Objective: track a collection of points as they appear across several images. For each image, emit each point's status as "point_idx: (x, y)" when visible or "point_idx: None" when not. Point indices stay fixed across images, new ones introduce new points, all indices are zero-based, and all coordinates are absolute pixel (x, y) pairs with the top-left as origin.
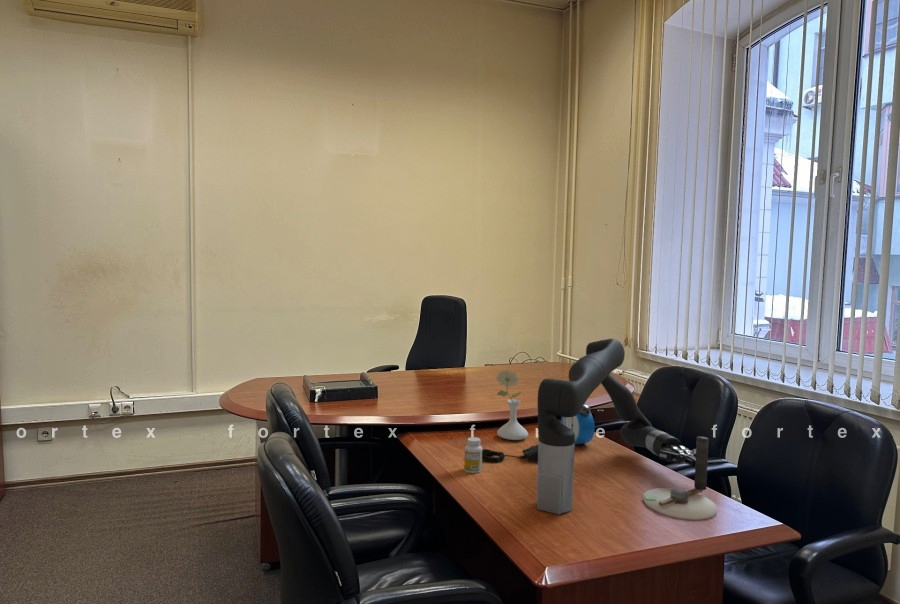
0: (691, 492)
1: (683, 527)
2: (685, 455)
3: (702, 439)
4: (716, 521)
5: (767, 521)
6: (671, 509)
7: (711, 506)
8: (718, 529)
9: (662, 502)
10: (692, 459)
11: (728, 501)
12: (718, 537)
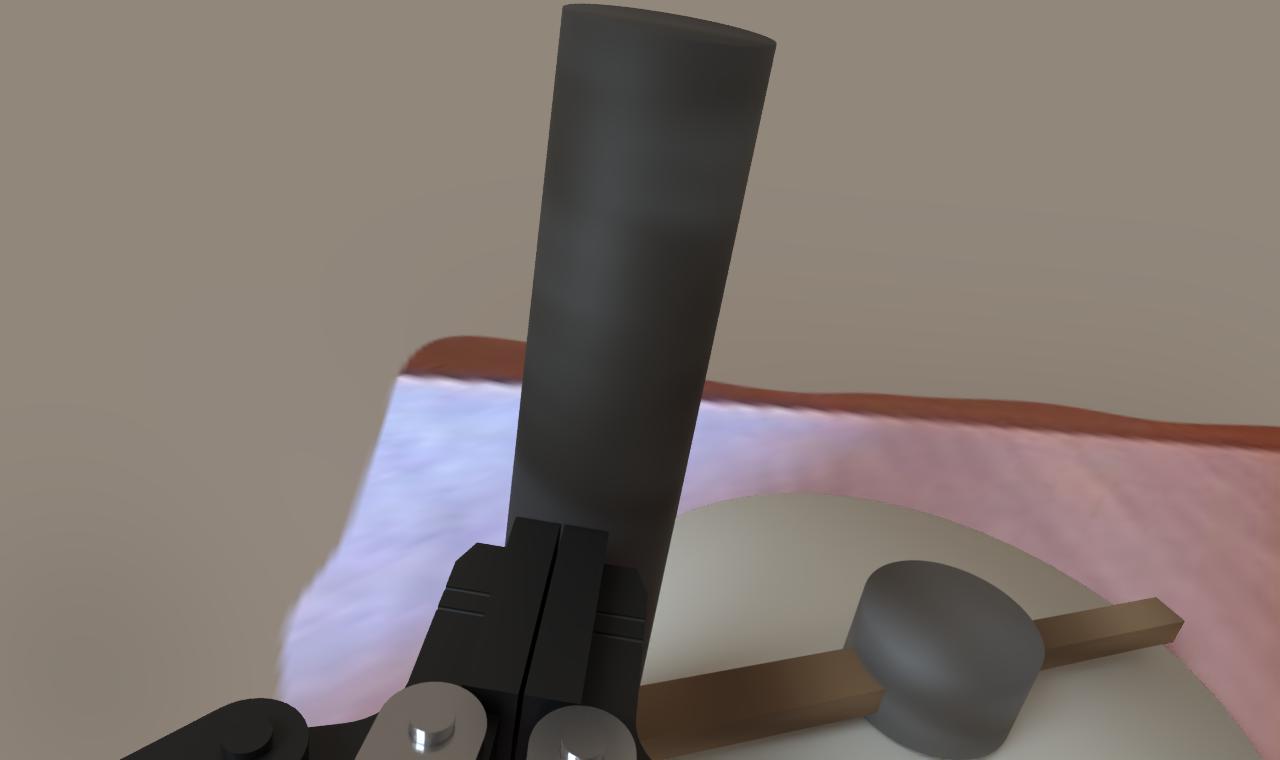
0: (759, 671)
1: (1017, 502)
2: (621, 726)
3: (730, 26)
4: (756, 485)
5: (418, 403)
6: (1054, 609)
7: (676, 553)
8: (809, 439)
9: (1152, 606)
10: (598, 592)
11: (339, 642)
12: (862, 406)
